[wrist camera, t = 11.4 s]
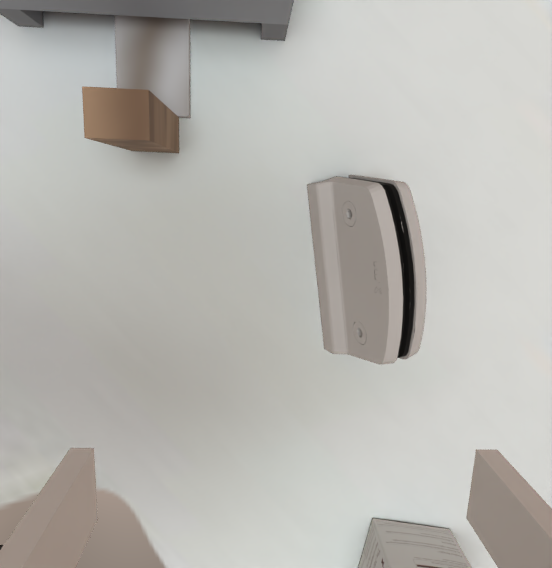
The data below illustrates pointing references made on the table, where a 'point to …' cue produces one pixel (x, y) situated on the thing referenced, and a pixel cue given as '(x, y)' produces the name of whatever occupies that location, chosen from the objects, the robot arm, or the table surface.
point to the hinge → (368, 267)
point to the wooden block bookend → (143, 87)
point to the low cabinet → (161, 11)
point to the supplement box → (410, 547)
